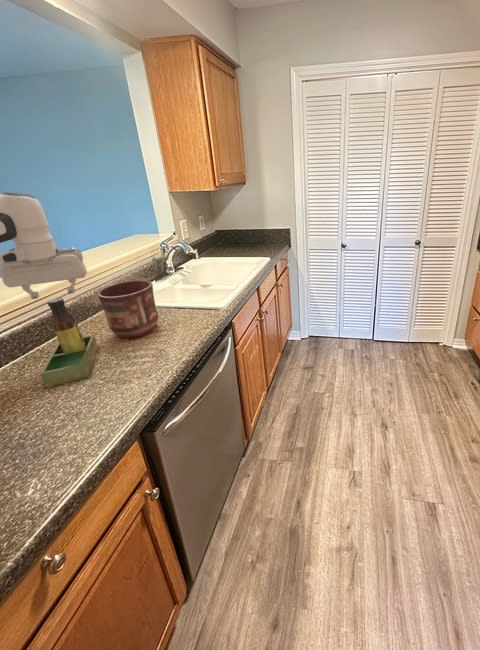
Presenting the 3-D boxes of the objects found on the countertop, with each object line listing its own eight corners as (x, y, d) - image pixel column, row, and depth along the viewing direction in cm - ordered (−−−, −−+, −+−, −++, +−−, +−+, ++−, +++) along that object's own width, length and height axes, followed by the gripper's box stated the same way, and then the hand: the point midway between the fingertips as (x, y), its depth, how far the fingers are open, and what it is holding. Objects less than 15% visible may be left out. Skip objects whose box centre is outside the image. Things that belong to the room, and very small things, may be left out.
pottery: (159, 338, 118) (148, 292, 111) (106, 347, 114) (91, 300, 106) (164, 318, 133) (154, 277, 126) (117, 325, 129) (105, 283, 122)
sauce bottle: (91, 352, 108) (72, 298, 101) (71, 362, 103) (50, 305, 96) (81, 348, 112) (61, 295, 104) (61, 357, 107) (39, 302, 99)
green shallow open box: (46, 387, 93) (39, 374, 91) (63, 354, 111) (58, 341, 109) (88, 377, 97) (83, 364, 95) (98, 346, 114) (94, 334, 112)
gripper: (81, 244, 100) (94, 286, 105) (-1, 253, 93) (17, 297, 98) (77, 248, 95) (91, 293, 100) (-10, 258, 87) (9, 305, 93)
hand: (54, 295), depth 99 cm, fingers open, 8 cm apart
